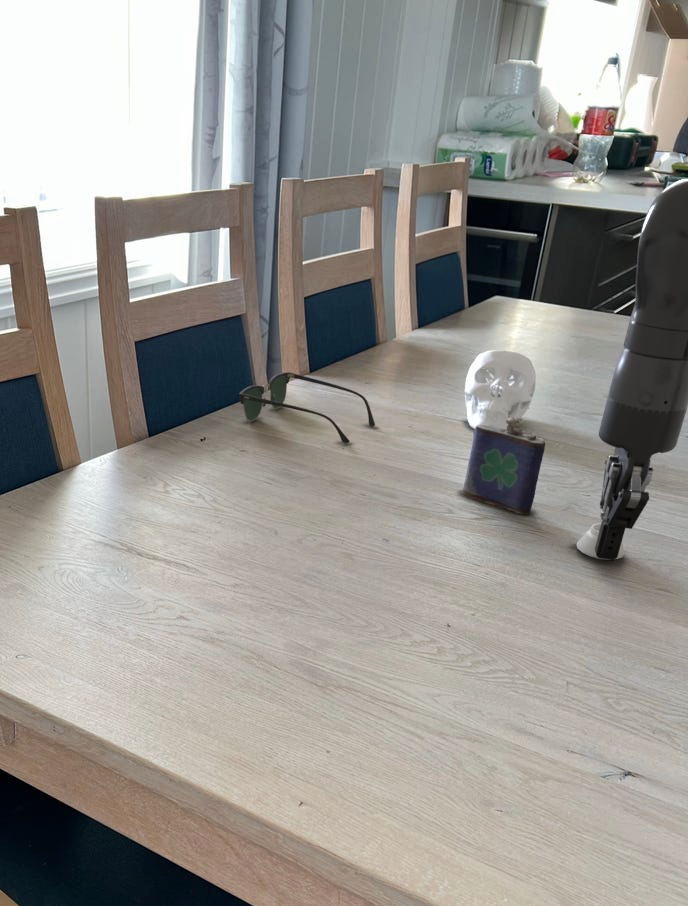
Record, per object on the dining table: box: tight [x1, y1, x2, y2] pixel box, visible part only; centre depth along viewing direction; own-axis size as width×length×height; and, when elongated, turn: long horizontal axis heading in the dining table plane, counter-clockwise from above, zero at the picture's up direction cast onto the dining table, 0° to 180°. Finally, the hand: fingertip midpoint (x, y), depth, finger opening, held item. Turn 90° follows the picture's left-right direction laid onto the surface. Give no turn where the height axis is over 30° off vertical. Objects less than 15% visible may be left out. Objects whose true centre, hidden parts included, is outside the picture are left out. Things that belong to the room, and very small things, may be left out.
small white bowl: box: [576, 523, 626, 561], centre depth 108 cm, size 5×3×5 cm
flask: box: [462, 417, 546, 515], centre depth 119 cm, size 9×3×11 cm, turn 46°
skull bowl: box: [464, 349, 537, 430], centre depth 151 cm, size 10×14×12 cm
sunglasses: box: [238, 371, 376, 444], centre depth 145 cm, size 16×17×5 cm
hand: (605, 556), depth 106 cm, fingers closed
